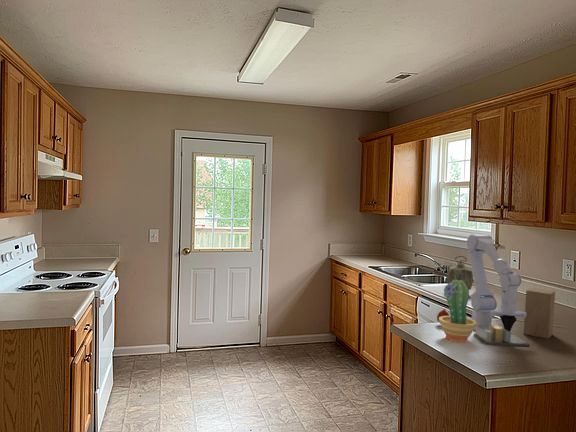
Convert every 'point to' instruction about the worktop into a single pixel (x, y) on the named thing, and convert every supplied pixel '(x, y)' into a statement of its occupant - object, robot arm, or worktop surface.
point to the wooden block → (539, 312)
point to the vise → (486, 338)
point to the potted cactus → (457, 313)
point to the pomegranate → (442, 314)
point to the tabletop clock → (460, 274)
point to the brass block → (497, 332)
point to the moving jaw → (506, 335)
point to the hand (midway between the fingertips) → (507, 333)
